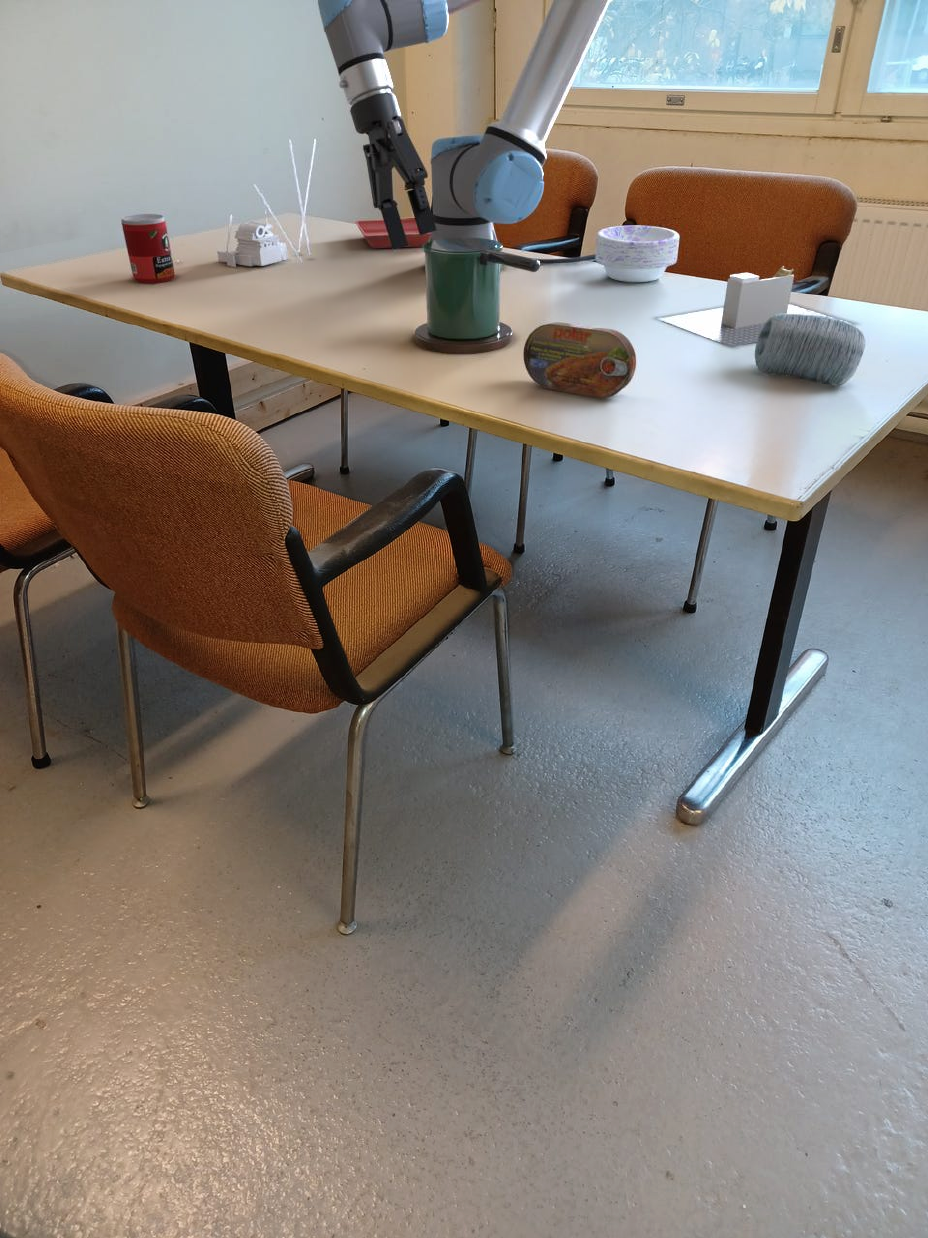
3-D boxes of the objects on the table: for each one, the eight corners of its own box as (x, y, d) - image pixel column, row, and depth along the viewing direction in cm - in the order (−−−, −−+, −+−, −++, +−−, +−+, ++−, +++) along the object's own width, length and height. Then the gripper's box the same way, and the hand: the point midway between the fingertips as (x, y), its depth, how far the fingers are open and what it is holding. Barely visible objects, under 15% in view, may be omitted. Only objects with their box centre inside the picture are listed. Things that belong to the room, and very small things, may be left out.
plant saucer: (432, 231, 207) (432, 216, 205) (447, 247, 192) (447, 230, 190) (355, 236, 204) (354, 220, 202) (365, 251, 189) (364, 235, 187)
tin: (521, 384, 118) (523, 320, 113) (532, 377, 120) (534, 314, 115) (626, 404, 111) (632, 336, 107) (635, 396, 113) (642, 330, 109)
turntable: (482, 320, 144) (482, 312, 143) (530, 343, 133) (531, 335, 132) (398, 333, 138) (398, 325, 137) (442, 359, 127) (441, 350, 126)
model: (721, 323, 141) (728, 272, 137) (771, 314, 145) (780, 265, 141) (735, 328, 139) (743, 276, 134) (785, 318, 143) (795, 268, 138)
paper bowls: (639, 290, 159) (644, 243, 154) (577, 276, 168) (579, 232, 164) (691, 277, 167) (697, 232, 163) (629, 264, 177) (632, 221, 172)
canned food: (164, 284, 167) (152, 221, 161) (125, 282, 168) (112, 220, 162) (183, 275, 173) (172, 214, 167) (145, 273, 174) (133, 213, 168)
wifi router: (265, 242, 198) (251, 130, 186) (339, 254, 187) (329, 135, 175) (176, 263, 182) (154, 141, 169) (251, 277, 171) (234, 147, 158)
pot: (410, 328, 135) (406, 242, 128) (467, 314, 141) (467, 231, 135) (505, 360, 121) (506, 266, 115) (564, 344, 128) (569, 253, 121)
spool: (733, 353, 117) (777, 282, 114) (752, 368, 125) (794, 302, 122) (822, 401, 111) (871, 327, 108) (837, 413, 119) (883, 346, 116)
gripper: (329, 128, 148) (371, 258, 155) (372, 76, 125) (419, 232, 132) (370, 117, 150) (409, 247, 157) (419, 65, 127) (463, 219, 134)
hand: (414, 240), depth 145 cm, fingers open, 13 cm apart
